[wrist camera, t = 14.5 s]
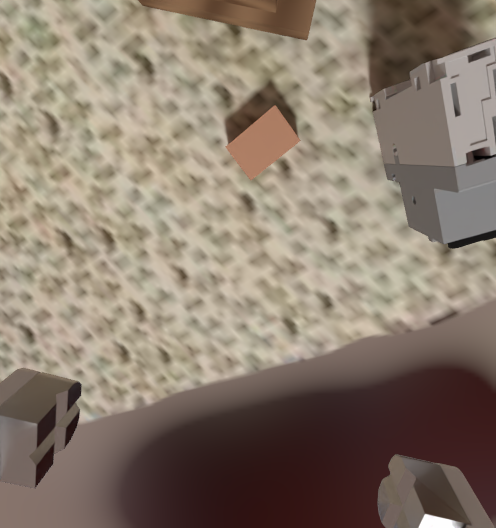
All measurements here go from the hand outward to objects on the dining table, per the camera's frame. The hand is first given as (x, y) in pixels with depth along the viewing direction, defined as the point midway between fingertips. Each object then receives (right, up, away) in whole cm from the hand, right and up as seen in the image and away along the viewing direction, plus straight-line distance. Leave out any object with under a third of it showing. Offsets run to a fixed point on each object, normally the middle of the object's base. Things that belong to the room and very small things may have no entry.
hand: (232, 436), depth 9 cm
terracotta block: (+2, +17, +28) cm, 32 cm away
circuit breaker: (+18, +15, +27) cm, 36 cm away
